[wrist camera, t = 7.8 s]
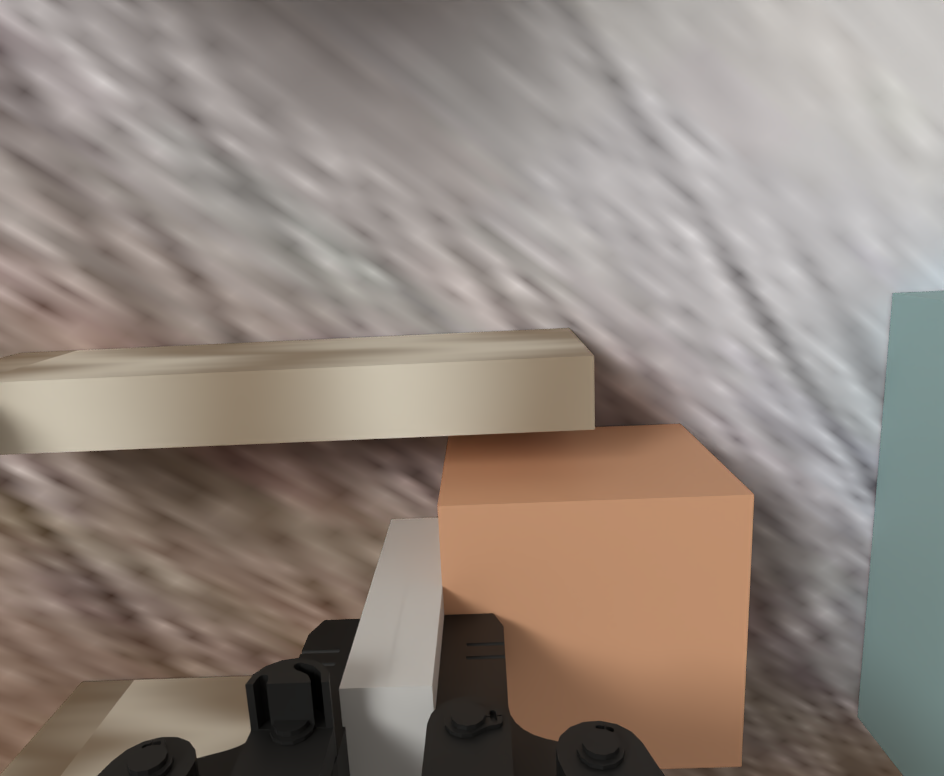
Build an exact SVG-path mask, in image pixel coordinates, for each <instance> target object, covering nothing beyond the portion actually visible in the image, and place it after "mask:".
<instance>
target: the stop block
mask: <svg viewBox="0 0 944 776" xmlns="http://www.w3.org/2000/svg"><path fill="white" fill-rule="evenodd" d="M858 718H859V719H860V721H861V722H862V723H863V724H864V726H865V727H866V728H867V730H868V731H869V732H870V733H871V735H872V736H873V737H874V739H875V740H876V741H877V743H878V744H879V745H880V746H881V748H882V749H883V750H884V752H885V753H886V754H887V755H888V757H889V758H890V759H891V761H892V762H893V763H894V764H895V766H896V767H897V768H898V770H899V771H900V772H901V773H902V775H903V776H944V291H929V292H907V293H893V297H892V309H891V321H890V333H889V345H888V357H887V369H886V381H885V393H884V405H883V417H882V429H881V442H880V454H879V466H878V478H877V490H876V502H875V514H874V526H873V538H872V550H871V562H870V574H869V586H868V598H867V610H866V622H865V634H864V646H863V658H862V670H861V682H860V694H859V706H858Z"/></svg>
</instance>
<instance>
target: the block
mask: <svg viewBox="0 0 944 776" xmlns="http://www.w3.org/2000/svg"><path fill="white" fill-rule="evenodd" d="M437 507H438V524H439V542H440V559H441V576H442V586H443V602H444V615H454V614H483V613H493V614H494V615H495V616H496V617H497V619H498V620H499V621H500V622H501V624H502V625H503V626H504V643H505V659H506V675H507V692H508V707H509V711H510V715H511V716H512V718H513V719H514V721H515V722H516V723H517V724H518V725H519V726H520V727H521V728H523V729H524V730H526V731H528V732H530V733H531V734H533V735H536V736H539V737H542V738H546V739H550V740H555V741H558V740H559V737H560V735H561V734H563V733H564V732H565V731H566V730H567V729H568V728H569V727H571V726H574V725H576V724H579V723H582V722H587V721H604V722H609V723H614V724H618V725H620V726H622V727H624V728H626V729H628V730H630V731H632V732H633V733H634V734H635V735H636V736H637V738H638V739H639V740H640V741H641V742H642V743H643V744H644V746H645V747H646V749H647V750H648V752H649V753H650V755H651V756H652V758H653V759H654V761H655V762H656V764H657V765H658V767H659V768H660V769H680V768H715V767H741V765H742V744H743V722H744V701H745V680H746V658H747V637H748V616H749V595H750V573H751V552H752V531H753V509H754V494H753V493H752V492H751V491H750V490H749V489H748V488H747V487H746V486H745V485H744V484H743V483H742V482H741V481H740V480H738V479H737V478H736V477H735V476H734V475H733V474H732V473H731V472H730V471H729V470H728V469H727V468H726V467H725V466H724V465H723V464H722V463H721V462H720V461H719V460H718V459H717V458H716V457H715V456H714V455H712V454H711V453H710V452H709V451H708V450H707V449H706V448H705V447H704V446H703V445H702V444H701V443H700V442H699V441H698V440H697V439H696V438H695V437H694V436H693V435H692V434H691V433H690V432H689V431H688V430H686V429H685V428H684V427H683V426H682V425H681V424H660V425H634V426H608V427H595V430H573V431H549V432H526V433H502V434H479V435H455V436H448V442H447V448H446V454H445V461H444V467H443V474H442V480H441V487H440V493H439V499H438V506H437Z"/></svg>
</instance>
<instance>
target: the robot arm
mask: <svg viewBox="0 0 944 776" xmlns="http://www.w3.org/2000/svg"><path fill="white" fill-rule="evenodd" d="M245 688H246V695H247V703H248V711H249V719H250V726H251V732H250V734H249V736H248V738H247V740H246V743H244V744H242V745H240V746H238V747H235V748H232V749H229V750H226V751H223V752H219V753H215V754H211V755H207V756H203V757H200V758H197V757H196V750H195V748H194V747H193V746H192V744H191V743H190V742H189V741H187V740H184V739H182V738H179V737H159V738H155V739H151V740H147V741H144V742H142V743H139V744H137V745H135V746H133V747H131V748H129V749H127V750H126V751H124V752H123V753H122V754H120V755H119V756H118V757H116V758H115V759H114V760H113V761H111V762H110V763H109V764H108V765H107V766H106V767H105V768H104V769H103V770H102V771H101V772H100V773H99V774H98V775H97V776H665V775H664V774H663V773H662V771H661V770H660V768H659V767H658V765H657V764H656V762H655V761H654V759H653V758H652V756H651V755H650V753H649V752H648V750H647V749H646V747H645V746H644V744H643V743H642V742H641V741H640V740H639V739H638V738H637V736H636V735H635V734H634V733H633V732H632V731H630V730H628V729H626V728H624V727H622V726H620V725H618V724H614V723H609V722H604V721H587V722H582V723H579V724H576V725H574V726H571V727H569V728H568V729H567V730H566V731H565V732H564V733H563V734H561V735H560V737H559V740H558V741H555V740H550V739H546V738H542V737H539V736H536V735H533V734H531V733H530V732H528V731H526V730H524V729H523V728H521V727H520V726H519V725H518V724H517V723H516V722H515V721H514V719H513V718H512V716H511V715H510V711H509V707H508V692H507V675H506V659H505V643H504V626H503V625H502V624H501V622H500V621H499V620H498V619H497V617H496V616H495V615H494V614H493V613H483V614H454V615H444V602H443V586H442V576H441V559H440V542H439V524H438V518H410V519H391V522H390V525H389V528H388V532H387V535H386V538H385V541H384V545H383V548H382V551H381V554H380V557H379V561H378V564H377V567H376V570H375V574H374V577H373V580H372V583H371V587H370V590H369V593H368V596H367V600H366V603H365V606H364V609H363V612H362V616H361V619H345V620H324V621H323V622H322V623H321V624H320V625H319V626H318V627H317V628H316V629H315V630H313V631H312V632H311V633H310V634H309V635H308V638H307V640H306V642H305V645H304V647H303V650H302V654H300V657H299V658H295V659H289V660H282V661H279V662H276V663H273V664H271V665H268V666H266V667H264V668H263V669H261V670H260V671H258V672H257V673H255V674H253V676H252V677H251V678H250V679H249V680H248V682H247V683H246V684H245Z"/></svg>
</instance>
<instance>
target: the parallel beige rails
mask: <svg viewBox="0 0 944 776" xmlns="http://www.w3.org/2000/svg"><path fill="white" fill-rule="evenodd" d="M573 430H595V392H594V355H593V354H592V353H591V352H590V351H589V350H588V348H587V347H586V346H585V345H584V344H583V343H582V342H581V341H580V340H579V339H578V338H577V336H576V335H575V334H574V333H573V332H572V331H571V330H570V329H569V328H558V329H537V330H515V331H493V332H471V333H449V334H427V335H405V336H383V337H361V338H339V339H317V340H295V341H273V342H251V343H229V344H207V345H185V346H163V347H141V348H119V349H98V350H76V351H54V352H32V353H18V354H14V355H10V356H7V357H3V358H0V455H7V454H31V453H54V452H78V451H102V450H125V449H149V448H172V447H196V446H219V445H243V444H267V443H290V442H314V441H337V440H361V439H384V438H408V437H431V436H455V435H479V434H502V433H526V432H549V431H573ZM251 677H252V676H231V677H203V678H175V679H146V680H118V681H90V682H82V683H81V684H80V685H79V686H78V687H77V688H76V689H75V691H74V692H73V693H72V694H71V695H70V696H69V697H68V699H67V700H66V701H65V702H64V703H63V704H62V705H61V706H60V708H59V709H58V710H57V711H56V712H55V713H54V714H53V716H52V717H51V718H50V719H49V720H48V721H47V722H46V723H45V725H44V726H43V727H42V728H41V729H40V730H39V731H38V733H37V734H36V735H35V736H34V737H33V738H32V739H31V740H30V742H29V743H28V744H27V745H26V746H25V747H24V748H23V750H22V751H21V752H20V753H19V754H18V755H17V756H16V757H15V759H14V760H13V761H12V762H11V763H10V764H9V765H8V767H7V768H6V769H5V770H4V771H3V772H2V773H1V774H0V776H97V775H98V774H99V773H100V772H101V771H102V770H103V769H104V768H105V767H106V766H107V765H108V764H109V763H110V762H111V761H113V760H114V759H115V758H116V757H118V756H119V755H120V754H122V753H123V752H124V751H126V750H127V749H129V748H131V747H133V746H135V745H137V744H139V743H142V742H144V741H147V740H151V739H155V738H159V737H179V738H182V739H184V740H187V741H189V742H190V743H191V744H192V746H193V747H194V748H195V750H196V757H197V758H200V757H203V756H207V755H211V754H215V753H219V752H223V751H226V750H229V749H232V748H235V747H238V746H240V745H242V744H244V743H246V740H247V738H248V736H249V734H250V732H251V726H250V719H249V711H248V703H247V695H246V688H245V684H246V683H247V682H248V680H249V679H250V678H251Z"/></svg>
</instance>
